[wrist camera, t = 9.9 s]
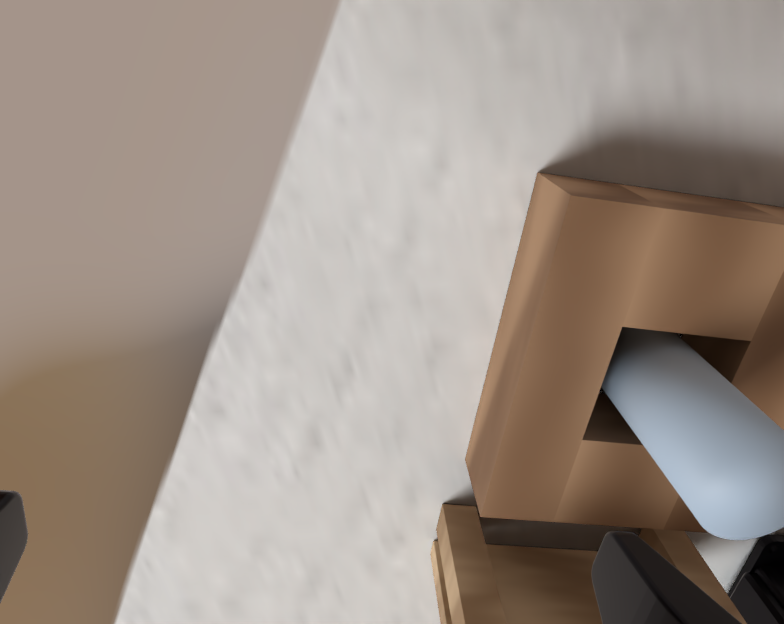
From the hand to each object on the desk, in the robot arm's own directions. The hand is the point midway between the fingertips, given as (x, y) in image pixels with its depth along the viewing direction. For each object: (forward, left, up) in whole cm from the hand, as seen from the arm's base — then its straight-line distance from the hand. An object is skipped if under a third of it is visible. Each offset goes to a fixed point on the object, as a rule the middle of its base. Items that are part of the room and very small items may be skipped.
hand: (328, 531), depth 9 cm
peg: (-11, +2, -12) cm, 16 cm away
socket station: (-11, +5, -12) cm, 17 cm away
